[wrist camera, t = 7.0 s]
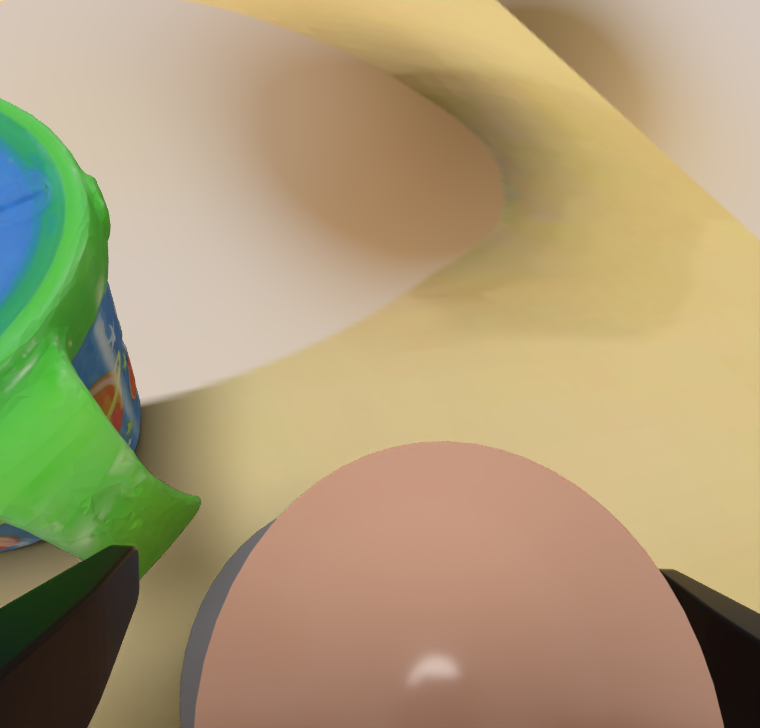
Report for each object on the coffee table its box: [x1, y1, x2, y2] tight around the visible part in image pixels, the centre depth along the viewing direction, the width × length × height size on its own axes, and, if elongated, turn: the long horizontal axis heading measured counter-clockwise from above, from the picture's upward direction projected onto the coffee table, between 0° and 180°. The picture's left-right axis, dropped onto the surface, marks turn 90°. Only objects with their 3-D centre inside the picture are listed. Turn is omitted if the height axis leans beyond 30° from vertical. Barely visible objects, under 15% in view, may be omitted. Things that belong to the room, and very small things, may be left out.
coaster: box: [180, 519, 276, 728], centre depth 15 cm, size 10×10×1 cm
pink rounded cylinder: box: [194, 441, 724, 728], centre depth 10 cm, size 5×5×12 cm
